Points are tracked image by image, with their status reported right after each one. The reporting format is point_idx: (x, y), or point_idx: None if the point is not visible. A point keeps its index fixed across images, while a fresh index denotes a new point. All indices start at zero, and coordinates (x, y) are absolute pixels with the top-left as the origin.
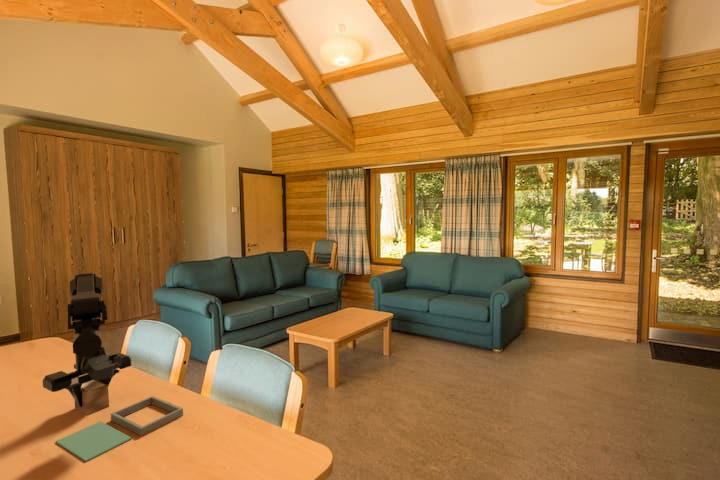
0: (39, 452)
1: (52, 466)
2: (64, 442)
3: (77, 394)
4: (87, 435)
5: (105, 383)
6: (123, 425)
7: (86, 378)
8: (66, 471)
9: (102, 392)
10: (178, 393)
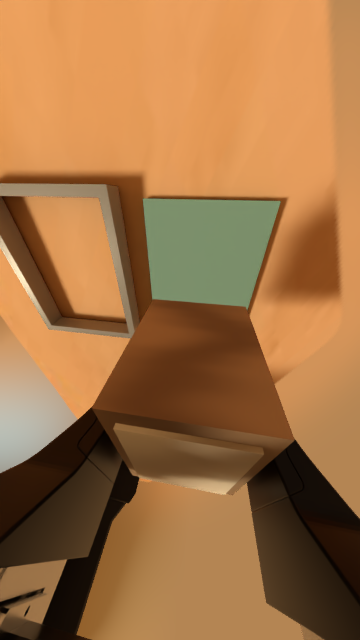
0: (267, 342)
1: (307, 272)
2: None
3: (295, 454)
4: None
5: (102, 429)
6: (132, 286)
7: None
8: (326, 210)
9: (157, 370)
10: (7, 307)
